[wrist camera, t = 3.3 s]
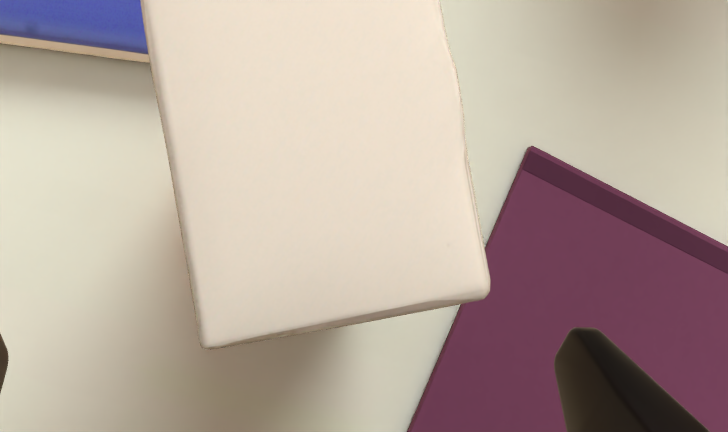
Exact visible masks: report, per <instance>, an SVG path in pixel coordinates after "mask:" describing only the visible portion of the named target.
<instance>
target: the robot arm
mask: <svg viewBox="0 0 728 432" xmlns="http://www.w3.org/2000/svg"><path fill="white" fill-rule="evenodd" d="M7 366H8V351H7V348H6V346H5V343H4V341H3V339H2V336H1V334H0V393H1V389H2V385H3V382H4V378H5V374H6V370H7ZM554 371H555V376H556V381H557V386H558V391H559V396H560V401H561V406H562V411H563V415H564V420H565V425H566V430H567V432H710V431H709V430H708V429H707V428H706V427H705V426H704V425H703V424H702V423H700V422H699V421H698V420H697V419H696V418H695V417H694V416H693V415H692V414H691V413H690V412H688V411H687V410H686V409H685V408H684V407H683V406H682V405H681V404H680V403H679V402H678V401H677V400H675V399H674V398H673V397H672V396H671V395H670V394H669V393H668V392H667V391H666V390H665V389H663V388H662V387H661V386H660V385H659V384H658V383H657V382H656V381H655V380H654V379H653V378H651V377H650V376H649V375H648V374H647V373H646V372H645V371H644V370H643V369H642V368H641V367H639V366H638V365H637V364H636V363H635V362H634V361H633V360H632V359H631V358H630V357H629V356H627V355H626V354H625V353H624V352H623V351H622V350H621V349H620V348H619V347H618V346H617V345H616V344H614V343H613V342H612V341H611V340H610V339H609V338H608V337H607V336H606V335H605V334H604V333H602V332H601V331H600V330H598V329H596V328H592V327H574V328H573V329H571V330H570V331H569V332H568V334H567V336H566V338H565V339H564V341H563V343H562V345H561V346H560V348H559V350H558V352H557V353H556V355H555V359H554Z"/></svg>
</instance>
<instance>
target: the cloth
mask: <svg viewBox="0 0 728 432" xmlns="http://www.w3.org/2000/svg"><path fill="white" fill-rule="evenodd" d="M485 253H486V259H487V264H488V269H489V275H490V292H489V293H488V295H487V296H486V297H485V299H482V300H479V301H473V302H467V303H463V304H461V306H460V309H459V311H458V313H457V316H456V318H455V320H454V323H453V325H452V327H451V330H450V332H449V335H448V337H447V339H446V342H445V344H444V346H443V349H442V351H441V353H440V356H439V358H438V360H437V363H436V365H435V367H434V370H433V372H432V374H431V377H430V379H429V382H428V384H427V386H426V389H425V391H424V393H423V396H422V398H421V400H420V403H419V405H418V407H417V410H416V412H415V414H414V417H413V419H412V422H411V424H410V426H409V429H408V431H407V432H567V430H566V425H565V420H564V415H563V411H562V406H561V401H560V396H559V391H558V386H557V381H556V376H555V371H554V359H555V355H556V353H557V352H558V350H559V348H560V346H561V345H562V343H563V341H564V339H565V338H566V336H567V334H568V332H569V331H570V330H571V329H573V328H574V327H592V328H596V329H598V330H600V331H601V332H602V333H604V334H605V335H606V336H607V337H608V338H609V339H610V340H611V341H612V342H613V343H614V344H616V345H617V346H618V347H619V348H620V349H621V350H622V351H623V352H624V353H625V354H626V355H627V356H629V357H630V358H631V359H632V360H633V361H634V362H635V363H636V364H637V365H638V366H639V367H641V368H642V369H643V370H644V371H645V372H646V373H647V374H648V375H649V376H650V377H651V378H653V379H654V380H655V381H656V382H657V383H658V384H659V385H660V386H661V387H662V388H663V389H665V390H666V391H667V392H668V393H669V394H670V395H671V396H672V397H673V398H674V399H675V400H677V401H678V402H679V403H680V404H681V405H682V406H683V407H684V408H685V409H686V410H687V411H688V412H690V413H691V414H692V415H693V416H694V417H695V418H696V419H697V420H698V421H699V422H700V423H702V424H703V425H704V426H705V427H706V428H707V429H708V430H709V431H710V432H728V246H726V245H724V244H722V243H720V242H718V241H716V240H714V239H712V238H710V237H708V236H706V235H705V234H703V233H701V232H699V231H697V230H695V229H693V228H691V227H689V226H687V225H685V224H683V223H681V222H679V221H677V220H675V219H674V218H672V217H670V216H668V215H666V214H664V213H662V212H660V211H658V210H656V209H654V208H652V207H650V206H648V205H646V204H644V203H643V202H641V201H639V200H637V199H635V198H633V197H631V196H629V195H627V194H625V193H623V192H621V191H619V190H617V189H615V188H613V187H612V186H610V185H608V184H606V183H604V182H602V181H600V180H598V179H596V178H594V177H592V176H590V175H588V174H586V173H584V172H582V171H581V170H579V169H577V168H575V167H573V166H571V165H569V164H567V163H565V162H563V161H561V160H559V159H557V158H555V157H553V156H551V155H550V154H548V153H546V152H544V151H542V150H540V149H538V148H536V147H534V146H531V147H529V148H528V149H527V151H526V153H525V156H524V158H523V160H522V163H521V165H520V168H519V170H518V172H517V175H516V177H515V179H514V182H513V184H512V186H511V189H510V191H509V193H508V196H507V198H506V200H505V203H504V205H503V208H502V210H501V212H500V215H499V217H498V219H497V222H496V224H495V226H494V229H493V231H492V233H491V236H490V238H489V240H488V243H487V245H486V247H485Z"/></svg>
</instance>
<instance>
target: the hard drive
mask: <svg viewBox="0 0 728 432" xmlns="http://www.w3.org/2000/svg"><path fill="white" fill-rule="evenodd" d="M0 43H3V44H12V45H18V46H26V47H34V48H41V49H49V50H56V51H64V52H71V53H79V54H87V55H94V56H101V57H108V58H116V59H123V60H131V61H139V62H147V63H150V61H149V54H148V48H147V42H146V36H145V30H144V24H143V17H142V9H141V2H140V0H0Z"/></svg>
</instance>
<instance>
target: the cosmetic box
mask: <svg viewBox="0 0 728 432" xmlns="http://www.w3.org/2000/svg"><path fill="white" fill-rule="evenodd" d="M140 2H141V9H142V17H143V24H144V30H145V36H146V42H147V48H148V54H149V61H150V67H151V73H152V78H153V83H154V88H155V93H156V97H157V102H158V107H159V112H160V117H161V122H162V127H163V132H164V138H165V143H166V148H167V153H168V159H169V164H170V170H171V176H172V182H173V188H174V194H175V199H176V205H177V211H178V217H179V222H180V228H181V234H182V239H183V245H184V251H185V256H186V262H187V268H188V274H189V280H190V286H191V291H192V297H193V303H194V308H195V314H196V319H197V326H198V334H199V340H200V345H201V347H202V348H204V349H206V350H213V349H218V348H224V347H229V346H235V345H241V344H246V343H252V342H258V341H264V340H269V339H275V338H281V337H287V336H292V335H298V334H303V333H309V332H314V331H320V330H325V329H331V328H336V327H342V326H347V325H353V324H358V323H364V322H369V321H374V320H380V319H385V318H390V317H395V316H401V315H406V314H411V313H417V312H422V311H427V310H433V309H438V308H443V307H448V306H453V305H458V304H463V303H467V302H473V301H479V300H482V299H485V297H486V296H487V295H488V293H489V292H490V275H489V269H488V264H487V259H486V253H485V248H484V242H483V237H482V232H481V226H480V221H479V216H478V210H477V205H476V199H475V193H474V187H473V183H472V177H471V172H470V166H469V161H468V155H467V147H466V139H465V127H464V114H463V106H462V99H461V93H460V87H459V82H458V76H457V71H456V67H455V64H454V60H453V58H452V55H451V53H450V49H449V45H448V40H447V36H446V32H445V26H444V21H443V16H442V10H441V5H440V0H140Z"/></svg>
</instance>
